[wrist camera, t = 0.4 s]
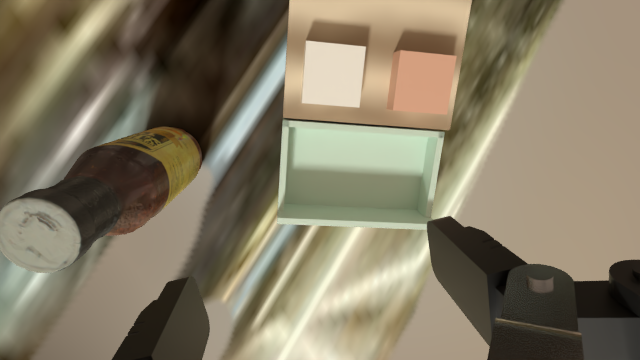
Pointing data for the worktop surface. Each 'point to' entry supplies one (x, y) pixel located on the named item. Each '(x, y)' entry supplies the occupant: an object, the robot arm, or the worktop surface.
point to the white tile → (332, 74)
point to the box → (357, 174)
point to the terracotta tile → (420, 82)
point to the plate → (374, 52)
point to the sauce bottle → (99, 198)
